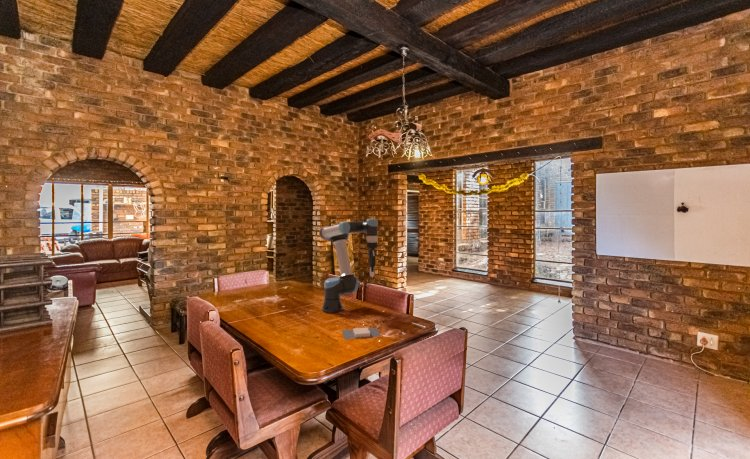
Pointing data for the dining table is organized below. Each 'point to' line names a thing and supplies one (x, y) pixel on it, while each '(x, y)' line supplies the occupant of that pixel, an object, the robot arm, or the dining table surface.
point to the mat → (350, 335)
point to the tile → (361, 332)
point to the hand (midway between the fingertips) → (372, 276)
